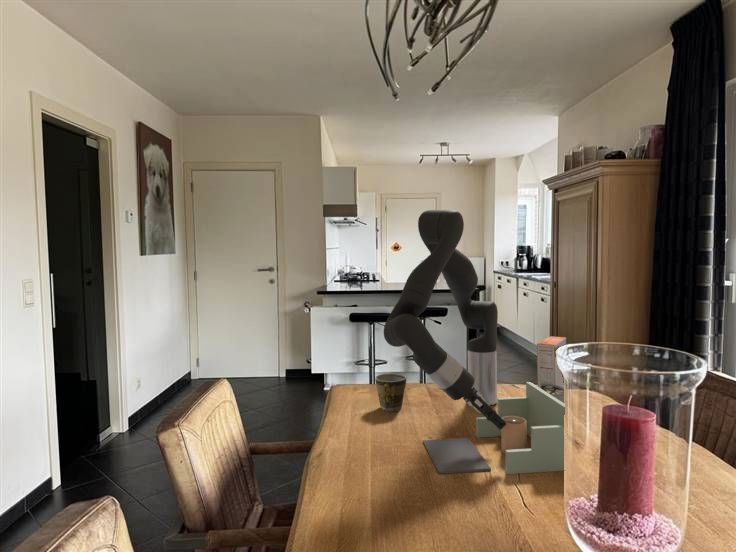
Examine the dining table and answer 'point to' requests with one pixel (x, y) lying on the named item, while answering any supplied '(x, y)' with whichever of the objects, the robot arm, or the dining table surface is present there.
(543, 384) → the food container
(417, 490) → the dining table surface
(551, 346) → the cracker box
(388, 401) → the ceramic cup
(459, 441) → the charcoal mat
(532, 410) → the stepped shelf frame
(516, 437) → the pink and brown cylinder
